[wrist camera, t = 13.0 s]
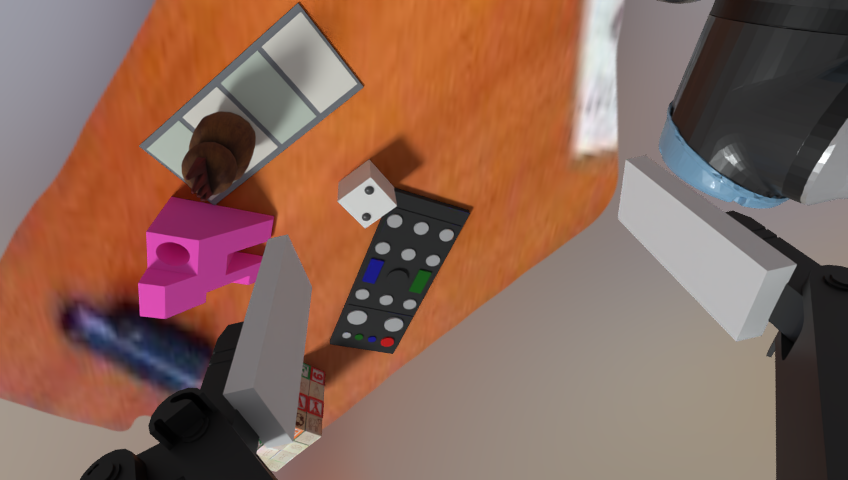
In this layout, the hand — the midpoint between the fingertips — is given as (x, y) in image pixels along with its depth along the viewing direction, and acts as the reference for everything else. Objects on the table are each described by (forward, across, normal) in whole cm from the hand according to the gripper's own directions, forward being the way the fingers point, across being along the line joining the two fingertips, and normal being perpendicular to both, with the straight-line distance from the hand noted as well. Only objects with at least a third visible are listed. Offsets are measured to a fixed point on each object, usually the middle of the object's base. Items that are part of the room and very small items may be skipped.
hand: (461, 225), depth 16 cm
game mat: (+34, +17, +4) cm, 39 cm away
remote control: (+35, +7, +32) cm, 48 cm away
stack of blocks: (+35, +34, +53) cm, 72 cm away
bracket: (+35, +27, +18) cm, 48 cm away
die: (+35, +7, +15) cm, 39 cm away
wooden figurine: (+34, +20, +5) cm, 40 cm away
